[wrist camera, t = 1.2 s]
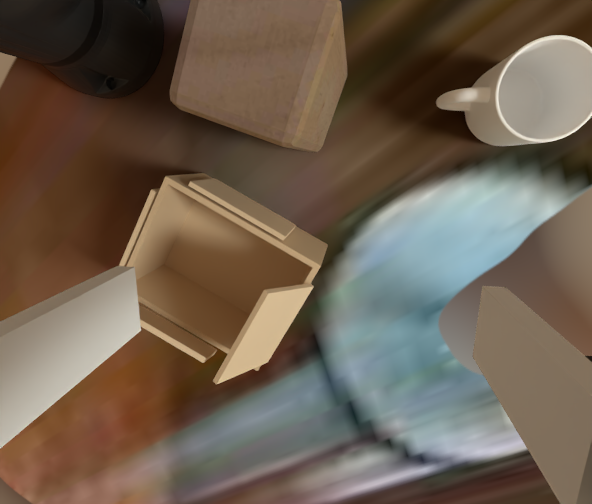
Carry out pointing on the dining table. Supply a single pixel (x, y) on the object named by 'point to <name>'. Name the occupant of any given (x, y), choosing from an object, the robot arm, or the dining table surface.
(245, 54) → the wooden block
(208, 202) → the carton
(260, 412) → the dining table surface
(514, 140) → the cup
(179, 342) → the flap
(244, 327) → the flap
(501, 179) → the dining table surface
